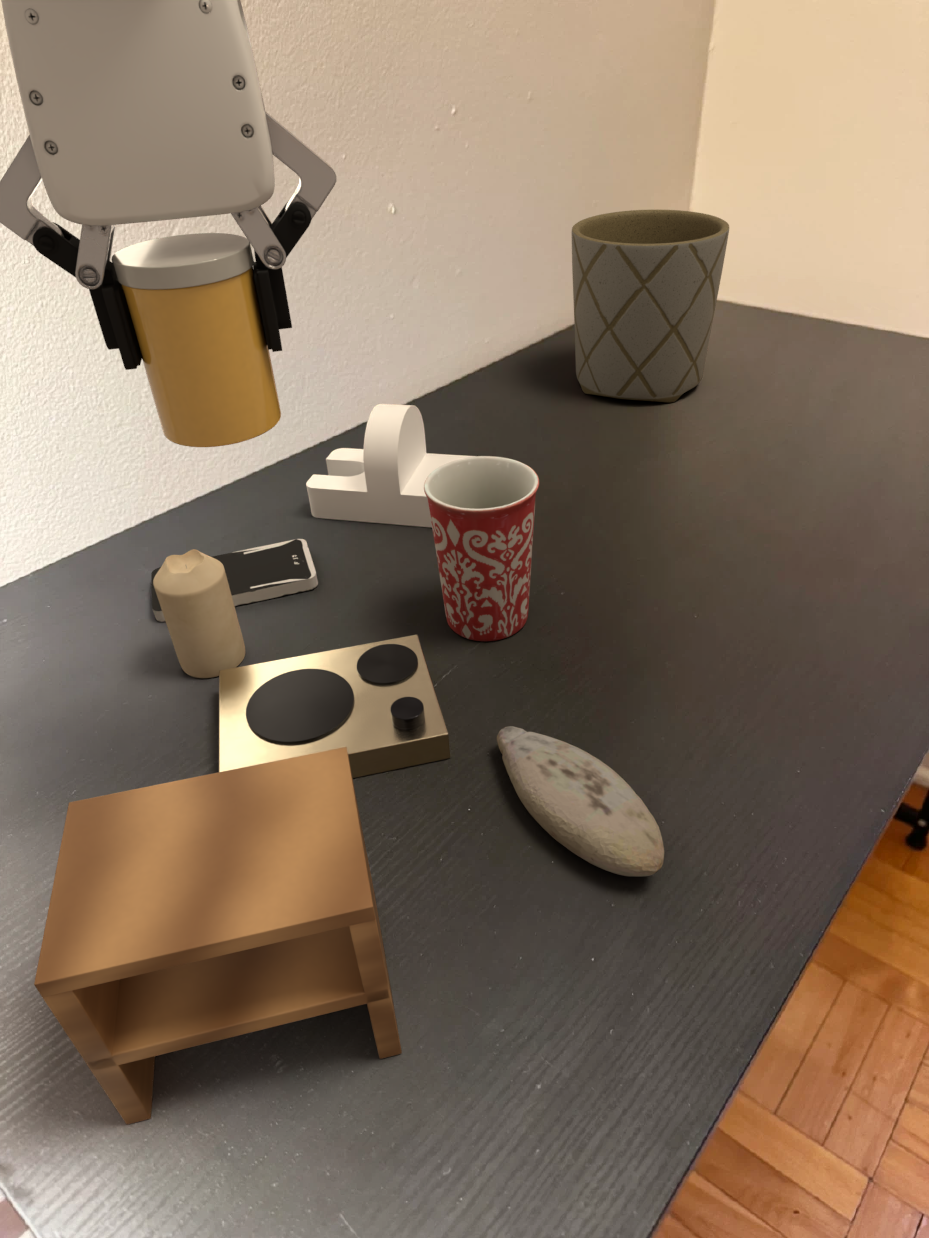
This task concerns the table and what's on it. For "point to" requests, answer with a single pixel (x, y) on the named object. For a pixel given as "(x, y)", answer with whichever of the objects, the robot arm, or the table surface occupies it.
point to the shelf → (211, 917)
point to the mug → (483, 543)
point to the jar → (201, 336)
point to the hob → (334, 708)
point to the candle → (199, 613)
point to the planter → (645, 300)
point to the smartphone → (262, 573)
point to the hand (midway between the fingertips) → (205, 349)
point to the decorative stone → (582, 803)
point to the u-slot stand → (380, 473)
